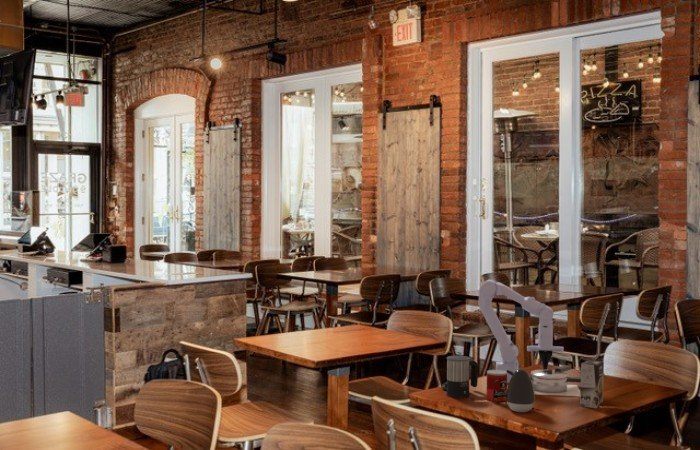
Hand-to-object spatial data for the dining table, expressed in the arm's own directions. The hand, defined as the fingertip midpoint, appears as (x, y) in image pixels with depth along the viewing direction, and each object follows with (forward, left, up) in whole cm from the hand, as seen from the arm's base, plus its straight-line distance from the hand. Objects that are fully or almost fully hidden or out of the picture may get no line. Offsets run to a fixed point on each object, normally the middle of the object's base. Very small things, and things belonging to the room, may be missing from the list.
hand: (544, 368), depth 340 cm
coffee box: (+15, -29, -7) cm, 33 cm away
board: (+3, -10, -7) cm, 13 cm away
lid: (+3, -7, 0) cm, 7 cm away
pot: (+3, -10, -6) cm, 12 cm away
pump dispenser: (-12, -43, -7) cm, 45 cm away
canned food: (-20, -29, -7) cm, 36 cm away
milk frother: (-36, -20, -7) cm, 42 cm away
